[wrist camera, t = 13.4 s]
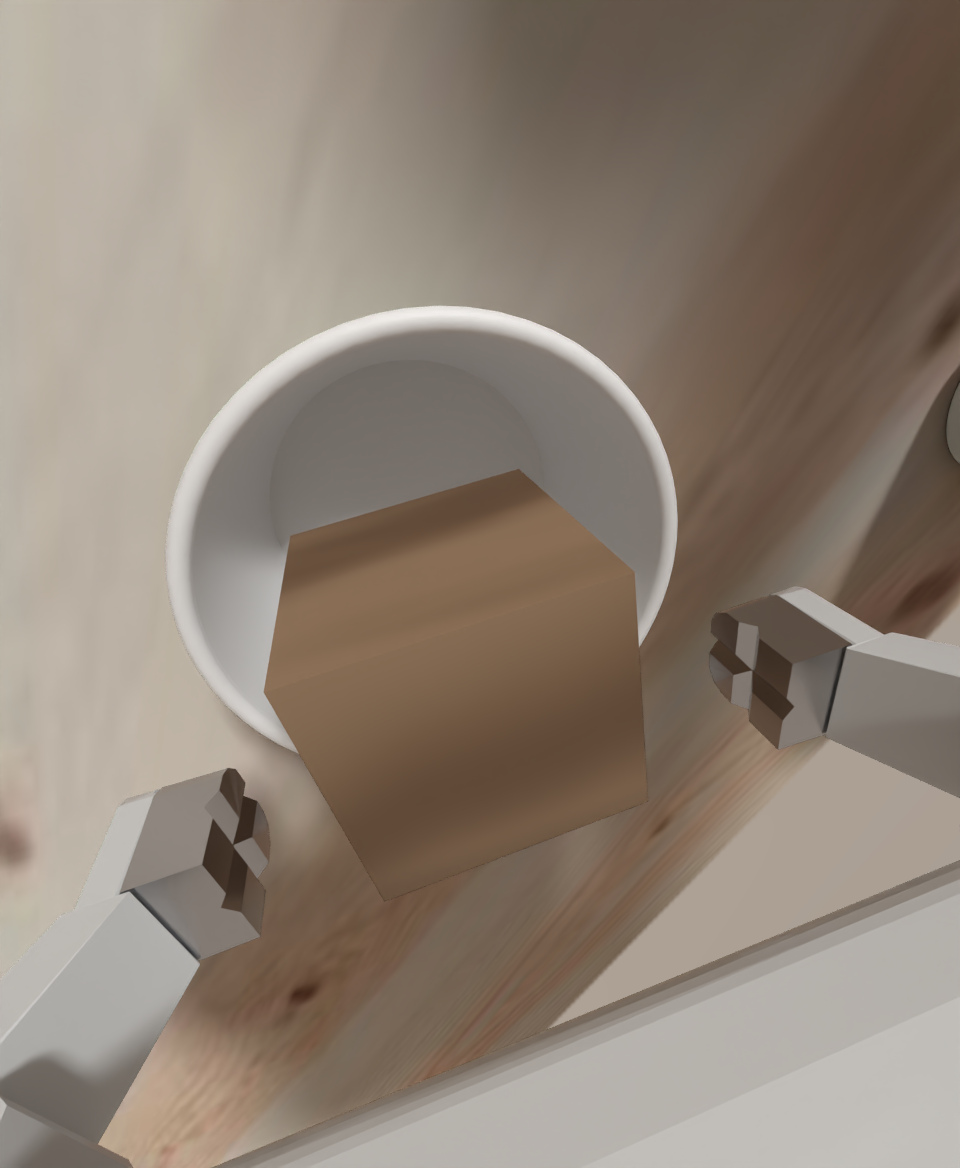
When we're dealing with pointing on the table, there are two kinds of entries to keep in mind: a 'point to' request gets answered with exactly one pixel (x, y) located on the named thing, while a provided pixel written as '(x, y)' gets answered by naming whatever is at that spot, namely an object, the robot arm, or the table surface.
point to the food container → (400, 466)
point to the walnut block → (460, 677)
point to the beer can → (954, 426)
